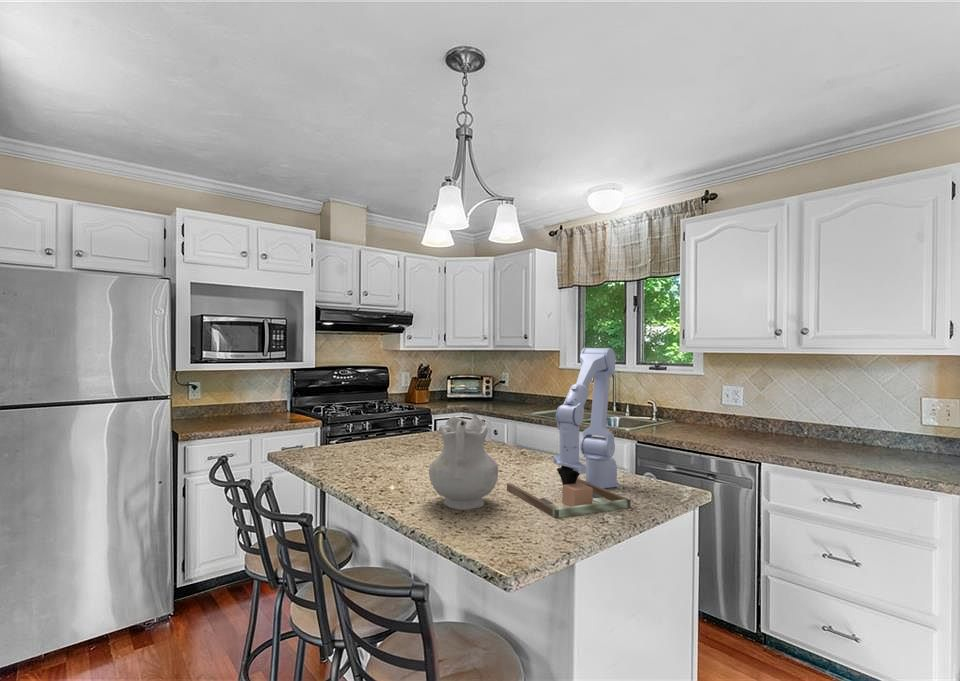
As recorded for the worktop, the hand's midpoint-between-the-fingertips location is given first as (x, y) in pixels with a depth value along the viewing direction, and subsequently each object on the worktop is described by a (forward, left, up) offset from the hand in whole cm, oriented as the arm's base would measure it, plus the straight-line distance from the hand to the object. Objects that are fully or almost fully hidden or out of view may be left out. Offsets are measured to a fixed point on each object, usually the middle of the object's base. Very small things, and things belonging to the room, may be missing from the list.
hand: (568, 493), depth 151 cm
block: (0, +4, -2) cm, 5 cm away
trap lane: (0, -2, -2) cm, 3 cm away
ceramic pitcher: (+30, -7, -2) cm, 31 cm away
